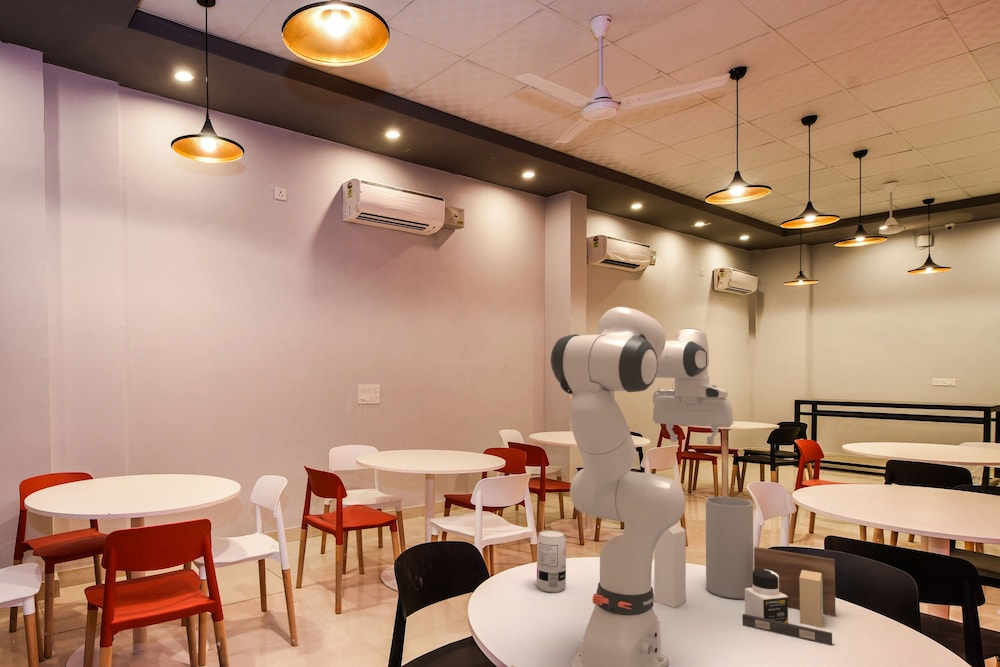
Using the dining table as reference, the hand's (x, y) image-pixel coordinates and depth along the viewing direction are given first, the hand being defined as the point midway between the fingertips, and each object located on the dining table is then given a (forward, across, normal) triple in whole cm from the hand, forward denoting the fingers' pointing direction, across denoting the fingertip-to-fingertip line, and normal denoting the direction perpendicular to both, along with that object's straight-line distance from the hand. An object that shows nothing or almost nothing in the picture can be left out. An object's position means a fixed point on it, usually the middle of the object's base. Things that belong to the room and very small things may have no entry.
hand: (692, 442), depth 155 cm
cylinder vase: (+43, +6, +18) cm, 47 cm away
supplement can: (+43, -38, -7) cm, 57 cm away
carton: (+43, +27, +9) cm, 51 cm away
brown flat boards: (+43, +22, +6) cm, 49 cm away
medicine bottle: (+43, +17, +2) cm, 46 cm away
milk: (+43, -6, +1) cm, 43 cm away
